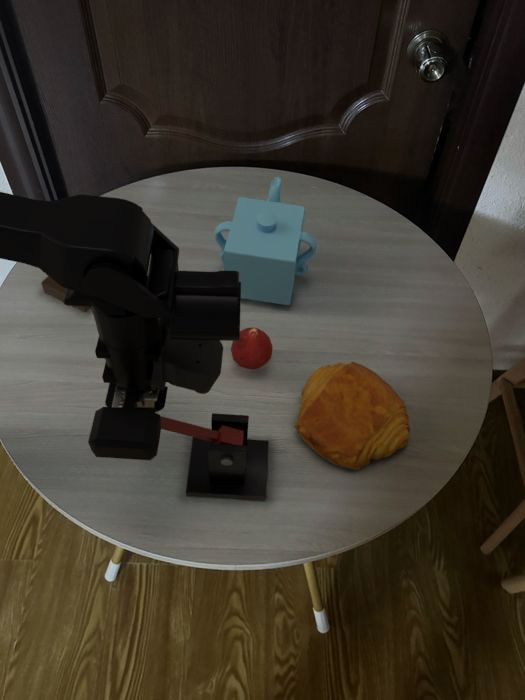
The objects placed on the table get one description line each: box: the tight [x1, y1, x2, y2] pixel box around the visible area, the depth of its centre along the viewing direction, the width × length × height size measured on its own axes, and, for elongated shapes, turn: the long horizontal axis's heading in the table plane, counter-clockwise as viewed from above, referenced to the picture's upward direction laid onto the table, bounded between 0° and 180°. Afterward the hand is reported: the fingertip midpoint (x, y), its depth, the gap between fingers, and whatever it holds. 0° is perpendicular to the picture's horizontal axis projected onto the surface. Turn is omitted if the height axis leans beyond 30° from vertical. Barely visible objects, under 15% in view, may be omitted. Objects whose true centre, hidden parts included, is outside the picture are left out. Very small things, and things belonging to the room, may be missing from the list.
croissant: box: [293, 361, 411, 471], centre depth 82 cm, size 14×16×8 cm
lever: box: [160, 415, 244, 445], centre depth 72 cm, size 12×6×2 cm, turn 87°
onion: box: [230, 327, 273, 371], centre depth 87 cm, size 6×6×8 cm
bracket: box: [185, 412, 270, 502], centre depth 76 cm, size 10×8×10 cm
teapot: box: [213, 176, 317, 306], centre depth 97 cm, size 18×16×13 cm
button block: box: [40, 275, 91, 313], centre depth 96 cm, size 10×8×4 cm
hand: (146, 413), depth 69 cm, fingers closed
